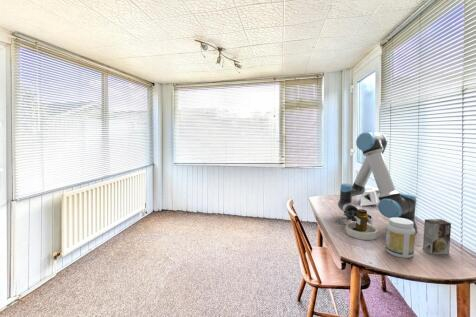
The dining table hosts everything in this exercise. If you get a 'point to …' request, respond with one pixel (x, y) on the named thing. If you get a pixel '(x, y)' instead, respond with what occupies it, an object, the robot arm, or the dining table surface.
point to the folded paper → (369, 196)
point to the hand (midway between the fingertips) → (365, 222)
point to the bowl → (367, 235)
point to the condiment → (361, 221)
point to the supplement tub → (400, 237)
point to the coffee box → (436, 236)
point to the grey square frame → (340, 220)
